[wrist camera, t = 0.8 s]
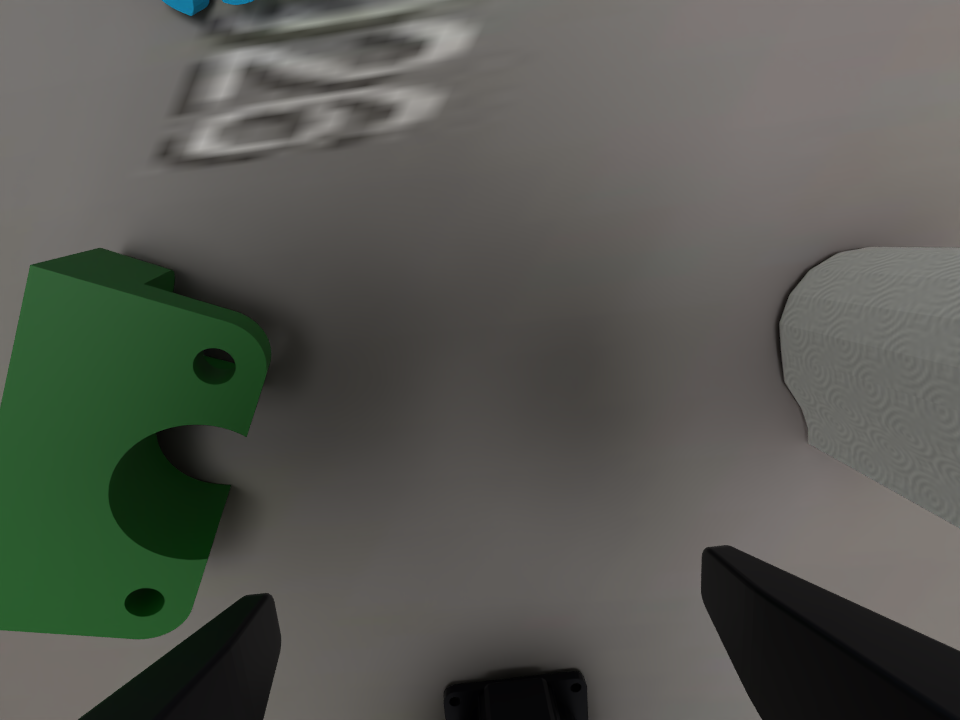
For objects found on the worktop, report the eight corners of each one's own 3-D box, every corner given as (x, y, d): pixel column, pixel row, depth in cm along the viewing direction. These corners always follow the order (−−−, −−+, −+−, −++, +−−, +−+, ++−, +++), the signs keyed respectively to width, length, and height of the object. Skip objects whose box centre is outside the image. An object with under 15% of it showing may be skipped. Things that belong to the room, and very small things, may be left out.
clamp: (238, 460, 25) (175, 662, 18) (96, 432, 22) (-40, 651, 16) (302, 259, 18) (241, 453, 11) (113, 192, 16) (-106, 384, 9)
